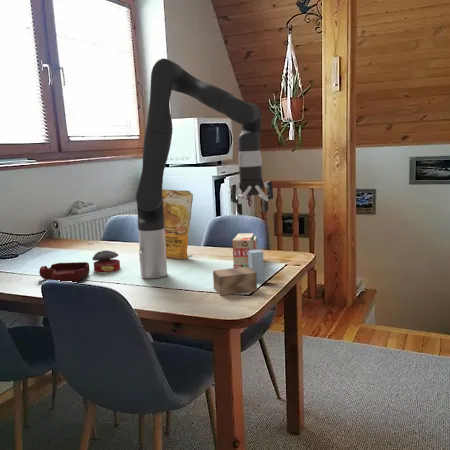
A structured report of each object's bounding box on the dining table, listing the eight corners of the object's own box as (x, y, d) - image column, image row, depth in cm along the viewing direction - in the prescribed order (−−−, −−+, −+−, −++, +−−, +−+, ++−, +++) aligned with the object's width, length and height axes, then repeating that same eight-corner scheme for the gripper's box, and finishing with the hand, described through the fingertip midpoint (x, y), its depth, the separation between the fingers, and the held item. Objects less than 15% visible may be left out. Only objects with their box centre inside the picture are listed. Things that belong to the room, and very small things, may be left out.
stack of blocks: (242, 258, 198) (241, 228, 196) (258, 258, 197) (257, 228, 195) (233, 273, 178) (232, 239, 175) (250, 273, 176) (249, 239, 174)
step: (220, 295, 152) (219, 276, 151) (213, 288, 159) (213, 270, 158) (257, 290, 155) (256, 272, 154) (248, 284, 162) (248, 266, 161)
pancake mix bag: (162, 252, 215) (158, 188, 210) (197, 256, 204) (193, 189, 199) (151, 255, 209) (147, 190, 204) (187, 260, 199) (183, 191, 194)
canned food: (95, 283, 187) (81, 261, 187) (110, 274, 197) (96, 252, 196) (116, 272, 183) (102, 249, 182) (130, 262, 192) (116, 241, 191)
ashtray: (102, 279, 177) (101, 265, 176) (59, 289, 166) (58, 275, 165) (78, 271, 190) (76, 258, 189) (36, 280, 179) (35, 267, 178)
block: (252, 282, 165) (251, 252, 163) (248, 278, 169) (248, 250, 167) (263, 280, 166) (263, 251, 164) (259, 277, 170) (259, 249, 168)
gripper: (232, 167, 156) (235, 217, 159) (274, 163, 160) (276, 212, 163) (226, 166, 164) (229, 214, 166) (266, 163, 167) (269, 210, 170)
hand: (252, 213), depth 164 cm, fingers open, 8 cm apart
